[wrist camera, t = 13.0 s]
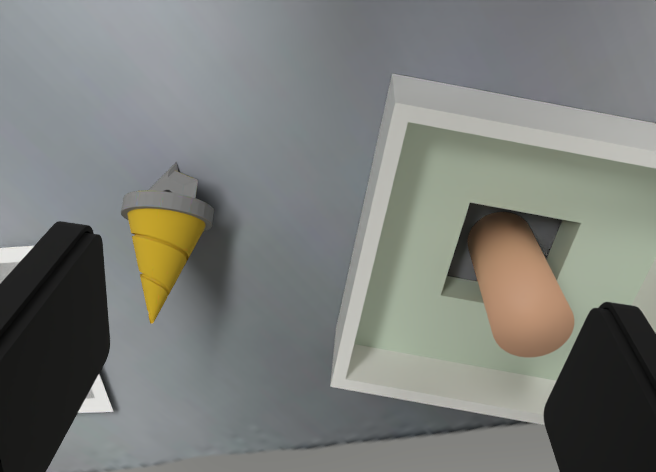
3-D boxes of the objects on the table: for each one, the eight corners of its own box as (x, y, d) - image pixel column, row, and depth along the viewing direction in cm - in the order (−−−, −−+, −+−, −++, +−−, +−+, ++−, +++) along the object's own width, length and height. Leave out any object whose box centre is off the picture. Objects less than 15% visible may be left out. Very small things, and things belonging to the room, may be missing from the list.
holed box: (392, 73, 33) (395, 102, 28) (704, 132, 33) (766, 172, 28) (336, 327, 42) (330, 386, 36) (585, 372, 42) (615, 437, 37)
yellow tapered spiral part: (237, 169, 37) (217, 329, 34) (181, 182, 40) (160, 329, 38) (169, 137, 33) (141, 316, 30) (113, 154, 36) (83, 317, 33)
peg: (477, 206, 36) (506, 286, 28) (541, 218, 36) (586, 300, 29) (460, 261, 38) (482, 349, 30) (520, 272, 38) (557, 363, 30)
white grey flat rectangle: (27, 404, 48) (13, 424, 46) (-48, 244, 41) (-68, 260, 39) (118, 401, 47) (107, 421, 45) (58, 237, 40) (42, 252, 38)
